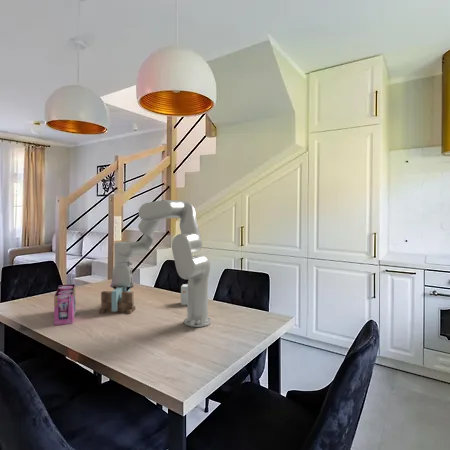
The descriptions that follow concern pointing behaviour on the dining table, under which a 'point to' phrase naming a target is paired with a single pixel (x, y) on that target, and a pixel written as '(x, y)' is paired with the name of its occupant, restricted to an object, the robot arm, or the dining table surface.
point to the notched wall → (123, 305)
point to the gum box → (64, 304)
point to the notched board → (117, 297)
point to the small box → (184, 294)
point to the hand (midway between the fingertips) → (122, 298)
